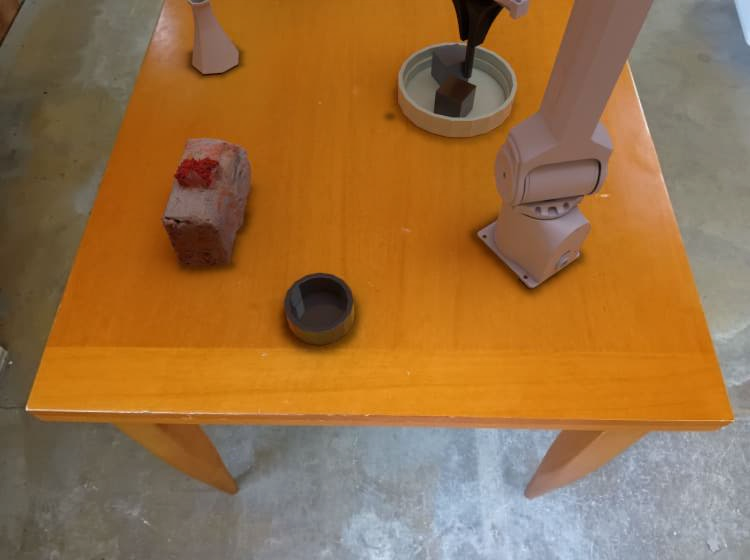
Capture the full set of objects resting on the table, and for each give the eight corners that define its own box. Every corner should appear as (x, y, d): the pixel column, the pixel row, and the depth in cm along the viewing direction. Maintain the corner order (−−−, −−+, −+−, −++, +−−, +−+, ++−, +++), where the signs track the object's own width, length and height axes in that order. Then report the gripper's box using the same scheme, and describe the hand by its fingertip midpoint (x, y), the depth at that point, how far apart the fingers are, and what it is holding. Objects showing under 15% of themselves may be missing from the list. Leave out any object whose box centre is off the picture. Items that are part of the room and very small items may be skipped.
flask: (186, 52, 87) (165, -11, 79) (231, 39, 89) (216, -24, 80) (199, 80, 84) (179, 18, 75) (246, 67, 85) (231, 4, 77)
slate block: (468, 83, 82) (471, 58, 79) (443, 90, 81) (445, 66, 78) (454, 67, 84) (457, 43, 81) (430, 74, 83) (432, 50, 80)
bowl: (535, 108, 80) (541, 88, 77) (446, 157, 75) (449, 138, 72) (461, 49, 87) (464, 28, 84) (375, 91, 82) (375, 70, 79)
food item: (197, 179, 73) (174, 120, 65) (259, 180, 73) (243, 121, 65) (174, 267, 66) (145, 214, 58) (243, 269, 66) (223, 216, 58)
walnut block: (472, 109, 79) (476, 85, 76) (458, 125, 78) (461, 102, 74) (447, 98, 81) (450, 74, 77) (433, 114, 79) (435, 91, 76)
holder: (367, 323, 62) (366, 308, 59) (311, 359, 60) (307, 345, 57) (330, 278, 65) (328, 261, 62) (276, 310, 63) (271, 294, 60)
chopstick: (473, 76, 80) (481, 17, 73) (466, 79, 80) (474, 20, 72) (468, 72, 81) (475, 12, 73) (461, 75, 80) (468, 15, 73)
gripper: (420, -82, 66) (414, 24, 78) (505, -25, 60) (485, 82, 71) (467, -100, 68) (454, 6, 80) (553, -47, 62) (526, 60, 73)
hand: (471, 41), depth 76 cm, fingers closed on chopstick, 1 cm apart
